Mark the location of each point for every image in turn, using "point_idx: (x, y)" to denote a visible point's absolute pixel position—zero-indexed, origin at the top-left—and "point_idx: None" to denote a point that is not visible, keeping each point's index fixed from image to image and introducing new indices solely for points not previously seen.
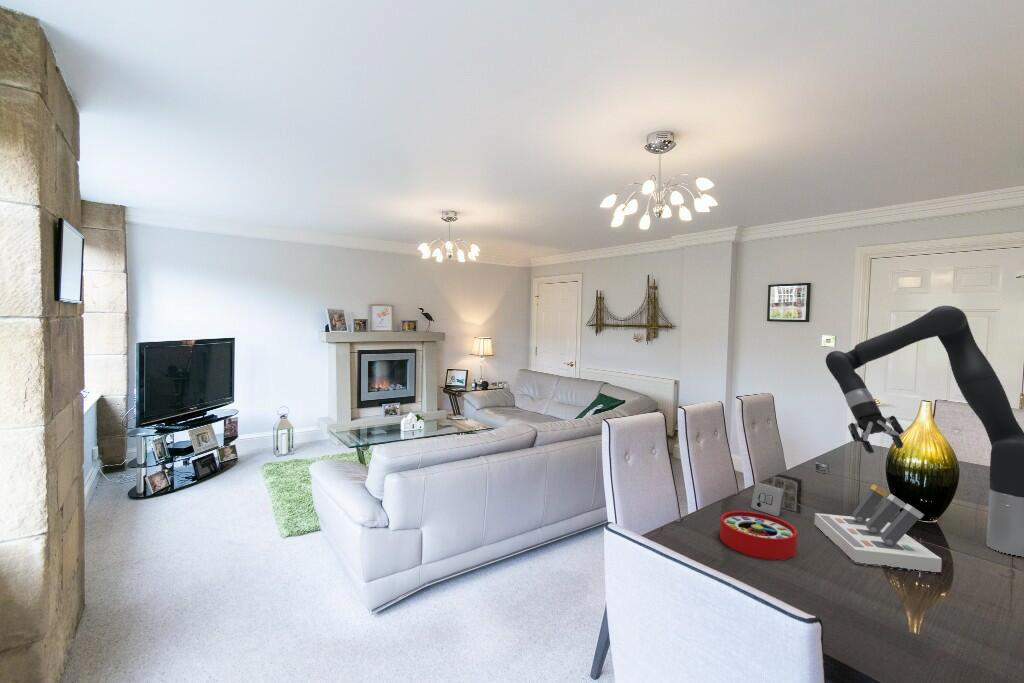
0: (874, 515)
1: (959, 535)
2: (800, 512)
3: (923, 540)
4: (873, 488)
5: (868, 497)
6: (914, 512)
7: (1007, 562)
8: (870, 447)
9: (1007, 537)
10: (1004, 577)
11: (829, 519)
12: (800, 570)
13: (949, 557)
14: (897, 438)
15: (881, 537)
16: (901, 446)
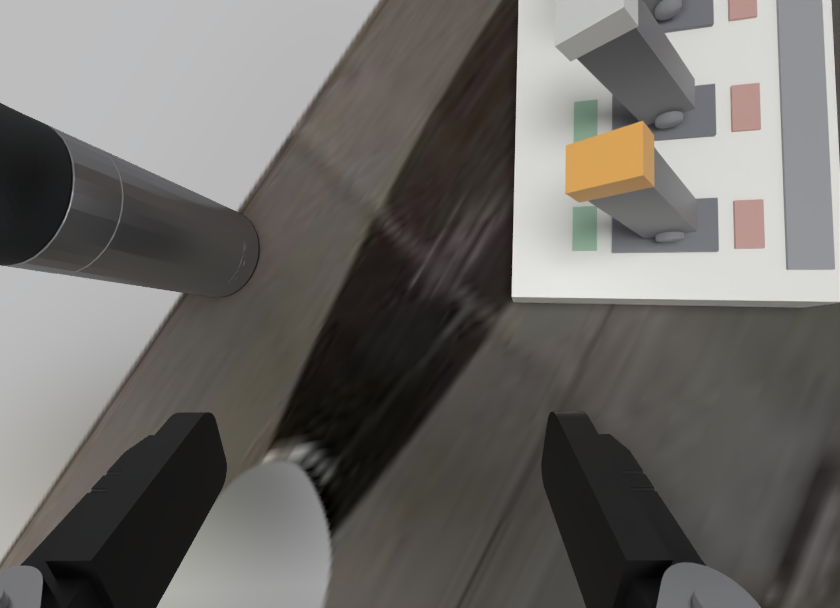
0: (677, 73)
1: (274, 339)
2: (812, 468)
3: (415, 263)
4: (650, 153)
5: (665, 169)
6: None
7: (281, 166)
8: (596, 453)
9: (211, 201)
10: (356, 62)
11: (803, 219)
12: None
13: (418, 146)
14: (100, 513)
15: (681, 6)
16: (189, 414)
